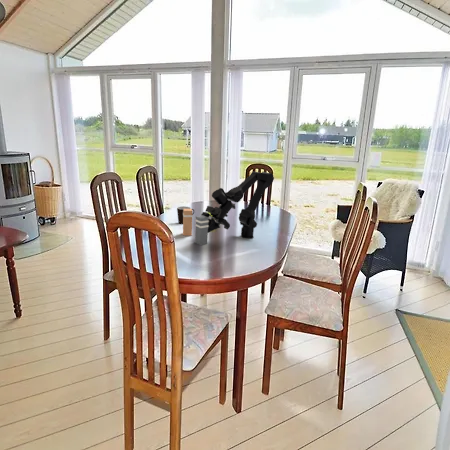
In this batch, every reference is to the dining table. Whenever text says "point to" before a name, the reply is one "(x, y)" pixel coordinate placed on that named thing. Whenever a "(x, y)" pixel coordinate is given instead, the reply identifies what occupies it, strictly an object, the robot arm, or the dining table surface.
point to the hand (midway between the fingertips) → (205, 232)
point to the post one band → (187, 222)
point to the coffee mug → (181, 213)
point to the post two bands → (201, 230)
